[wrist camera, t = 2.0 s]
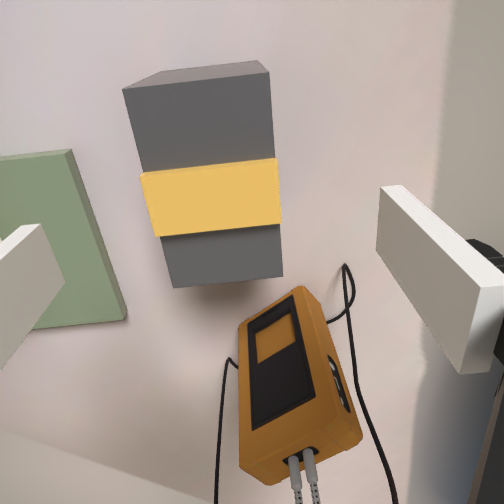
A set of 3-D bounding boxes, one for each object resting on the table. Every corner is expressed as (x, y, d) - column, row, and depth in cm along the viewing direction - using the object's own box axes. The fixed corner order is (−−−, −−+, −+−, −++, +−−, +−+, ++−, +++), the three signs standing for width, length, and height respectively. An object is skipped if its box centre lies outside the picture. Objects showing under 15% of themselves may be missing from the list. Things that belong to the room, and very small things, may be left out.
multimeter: (271, 396, 38) (301, 689, 21) (206, 343, 34) (177, 653, 17) (397, 326, 34) (562, 621, 17) (340, 255, 30) (482, 550, 13)
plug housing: (159, 71, 23) (116, 91, 14) (258, 60, 23) (271, 73, 14) (189, 218, 28) (170, 295, 19) (270, 209, 28) (285, 283, 19)
